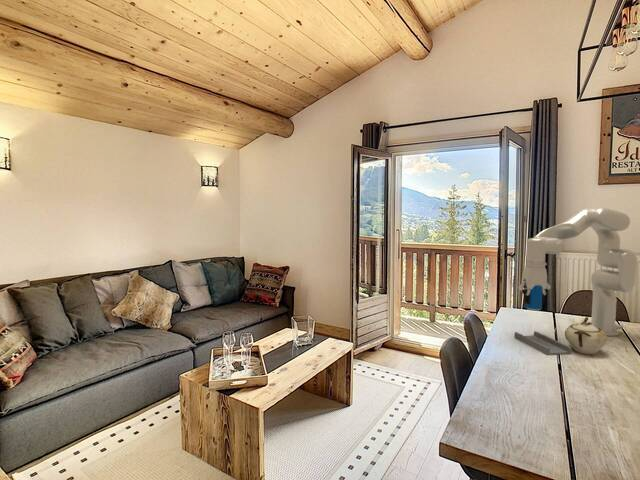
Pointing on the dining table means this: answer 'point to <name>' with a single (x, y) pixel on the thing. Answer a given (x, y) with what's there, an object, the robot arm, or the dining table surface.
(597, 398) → the dining table surface
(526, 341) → the tray
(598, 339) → the sugar bowl
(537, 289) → the beverage can
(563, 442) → the dining table surface
